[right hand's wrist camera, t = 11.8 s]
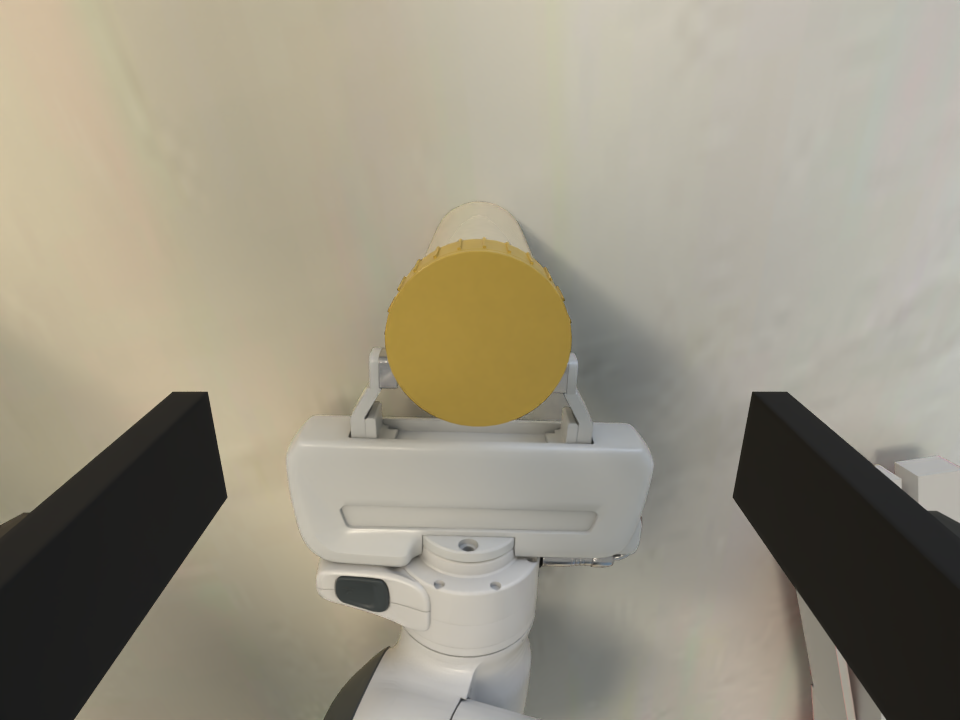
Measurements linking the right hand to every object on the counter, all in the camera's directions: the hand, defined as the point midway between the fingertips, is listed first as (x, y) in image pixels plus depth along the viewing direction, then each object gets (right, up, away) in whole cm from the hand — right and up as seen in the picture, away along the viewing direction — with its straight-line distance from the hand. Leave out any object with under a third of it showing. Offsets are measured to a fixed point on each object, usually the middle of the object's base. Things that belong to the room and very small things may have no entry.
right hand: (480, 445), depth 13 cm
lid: (0, +3, +7) cm, 7 cm away
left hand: (0, +2, +18) cm, 18 cm away
